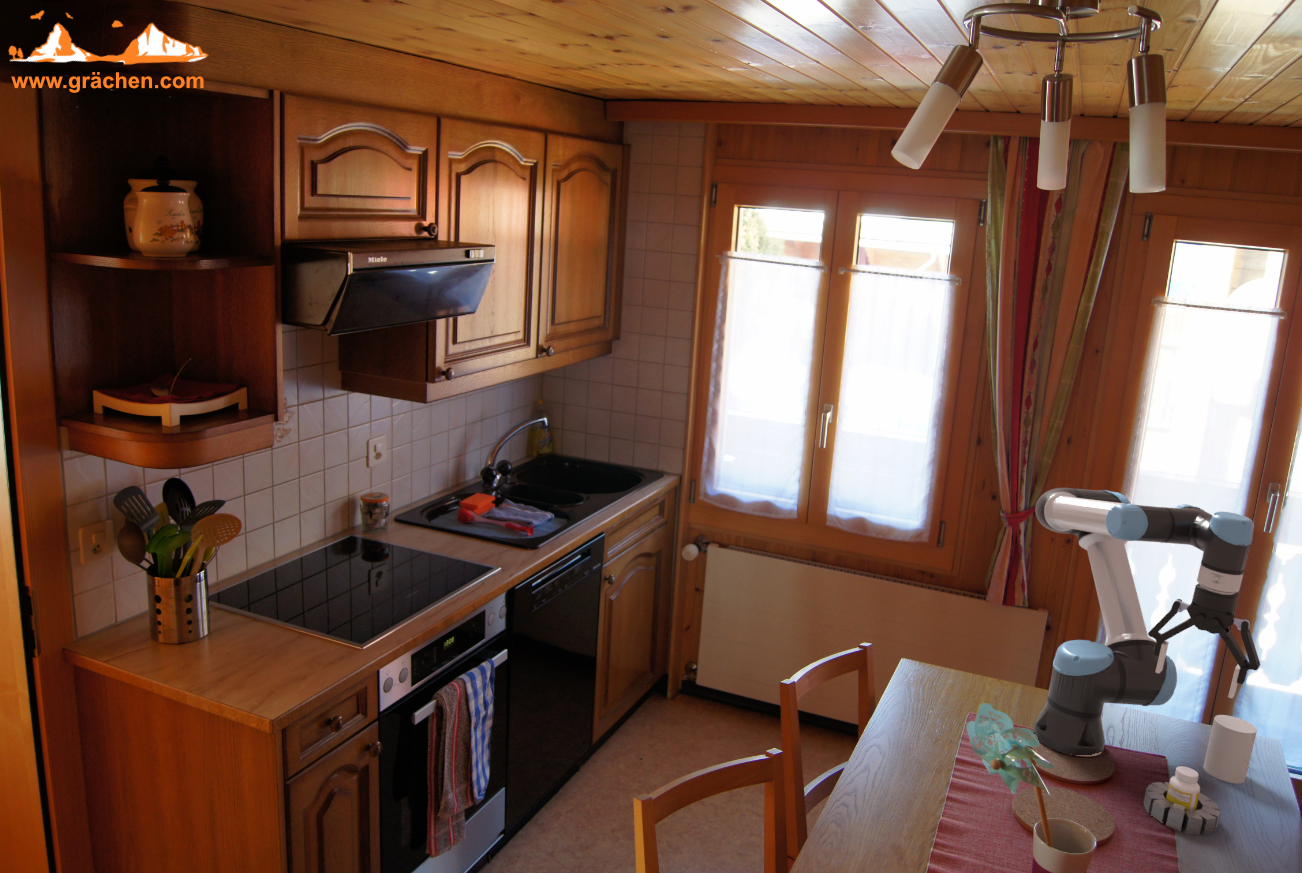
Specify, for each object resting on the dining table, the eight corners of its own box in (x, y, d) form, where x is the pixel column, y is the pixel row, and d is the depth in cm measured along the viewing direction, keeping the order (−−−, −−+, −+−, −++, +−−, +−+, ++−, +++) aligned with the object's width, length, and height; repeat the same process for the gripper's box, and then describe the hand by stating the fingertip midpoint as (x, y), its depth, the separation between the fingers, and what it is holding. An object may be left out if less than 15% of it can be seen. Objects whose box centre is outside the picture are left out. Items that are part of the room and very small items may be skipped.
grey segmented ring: (1137, 814, 189) (1141, 796, 188) (1151, 789, 199) (1155, 772, 198) (1210, 843, 181) (1214, 824, 180) (1221, 816, 191) (1225, 798, 190)
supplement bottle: (1180, 807, 193) (1189, 763, 191) (1199, 822, 188) (1209, 778, 186) (1157, 807, 192) (1166, 764, 190) (1176, 823, 187) (1186, 779, 185)
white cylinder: (1251, 786, 204) (1263, 736, 202) (1211, 779, 206) (1222, 729, 203) (1236, 767, 212) (1247, 718, 210) (1197, 760, 213) (1208, 712, 211)
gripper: (1146, 573, 195) (1125, 666, 200) (1286, 613, 180) (1260, 713, 184) (1155, 565, 201) (1135, 656, 206) (1292, 603, 185) (1266, 701, 190)
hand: (1194, 683), depth 195 cm, fingers open, 13 cm apart
